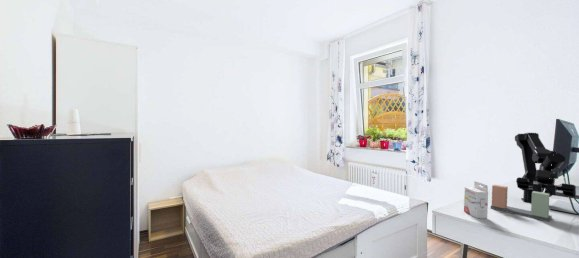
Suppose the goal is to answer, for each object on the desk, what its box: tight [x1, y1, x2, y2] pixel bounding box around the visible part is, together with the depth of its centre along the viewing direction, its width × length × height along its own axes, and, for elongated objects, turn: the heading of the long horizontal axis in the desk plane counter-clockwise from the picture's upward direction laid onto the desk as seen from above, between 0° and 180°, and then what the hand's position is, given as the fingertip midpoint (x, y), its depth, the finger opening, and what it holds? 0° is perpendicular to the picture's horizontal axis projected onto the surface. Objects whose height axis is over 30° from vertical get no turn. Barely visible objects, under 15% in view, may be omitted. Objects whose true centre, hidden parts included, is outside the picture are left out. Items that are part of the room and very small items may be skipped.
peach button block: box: [491, 184, 509, 209], centre depth 119 cm, size 4×5×10 cm
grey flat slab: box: [490, 204, 553, 222], centre depth 115 cm, size 6×20×1 cm, turn 36°
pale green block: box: [530, 191, 550, 218], centre depth 108 cm, size 4×5×10 cm
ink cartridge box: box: [463, 180, 489, 219], centre depth 111 cm, size 9×5×15 cm, turn 179°
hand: (541, 201), depth 109 cm, fingers closed, pressing on pale green block
